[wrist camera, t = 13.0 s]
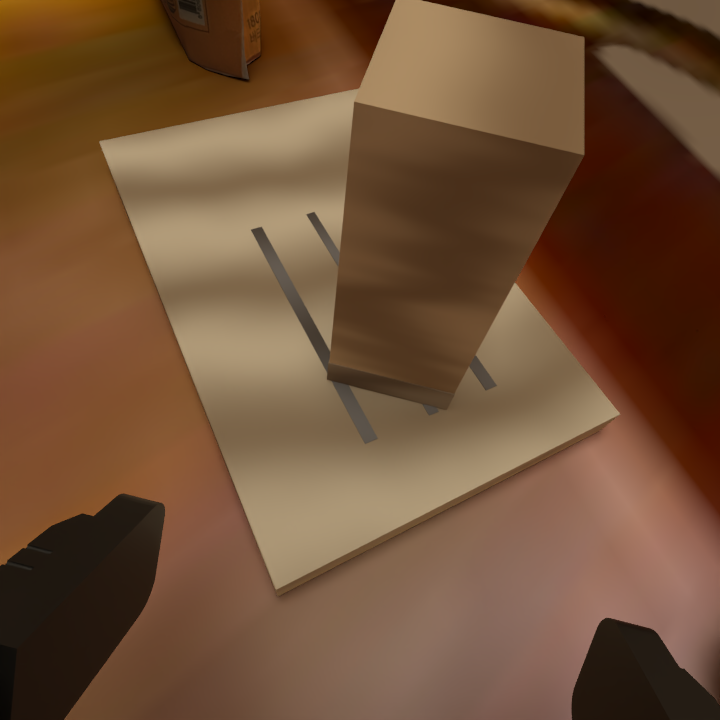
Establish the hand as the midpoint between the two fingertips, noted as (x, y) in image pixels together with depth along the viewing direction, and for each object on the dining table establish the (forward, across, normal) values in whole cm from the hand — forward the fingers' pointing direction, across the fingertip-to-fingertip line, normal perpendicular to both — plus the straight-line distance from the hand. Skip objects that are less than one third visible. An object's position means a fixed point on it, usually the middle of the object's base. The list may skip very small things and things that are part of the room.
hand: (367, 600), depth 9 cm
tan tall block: (+12, 0, -2) cm, 12 cm away
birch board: (+15, +4, -4) cm, 16 cm away
